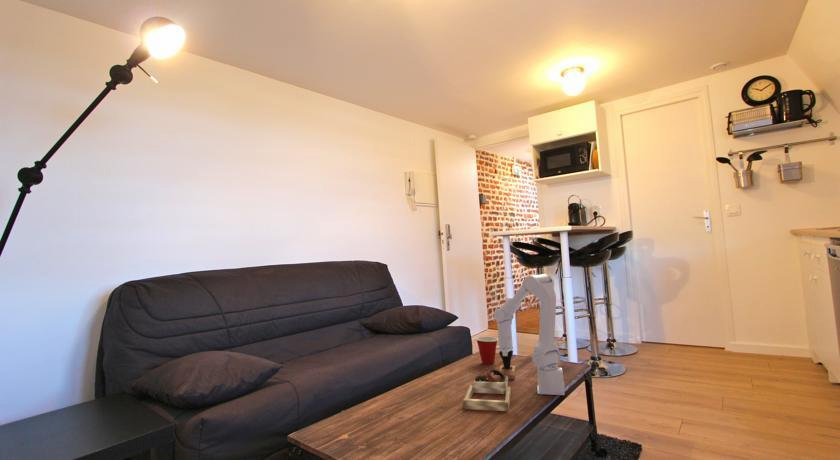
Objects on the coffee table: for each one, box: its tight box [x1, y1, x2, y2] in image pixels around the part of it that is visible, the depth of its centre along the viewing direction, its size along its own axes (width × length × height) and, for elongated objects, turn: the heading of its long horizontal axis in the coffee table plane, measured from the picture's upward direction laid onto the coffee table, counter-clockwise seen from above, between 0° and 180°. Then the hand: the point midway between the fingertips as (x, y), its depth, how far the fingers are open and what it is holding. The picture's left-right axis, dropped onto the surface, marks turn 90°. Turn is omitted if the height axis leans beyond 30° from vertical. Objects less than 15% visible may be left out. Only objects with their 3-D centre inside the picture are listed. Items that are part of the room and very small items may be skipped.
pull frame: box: [472, 365, 516, 395], centre depth 159 cm, size 15×23×4 cm, turn 164°
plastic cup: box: [475, 336, 499, 366], centre depth 188 cm, size 11×11×12 cm
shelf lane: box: [462, 384, 512, 412], centre depth 142 cm, size 15×16×3 cm
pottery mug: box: [474, 368, 505, 382], centre depth 152 cm, size 12×10×8 cm
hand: (507, 368), depth 166 cm, fingers closed
